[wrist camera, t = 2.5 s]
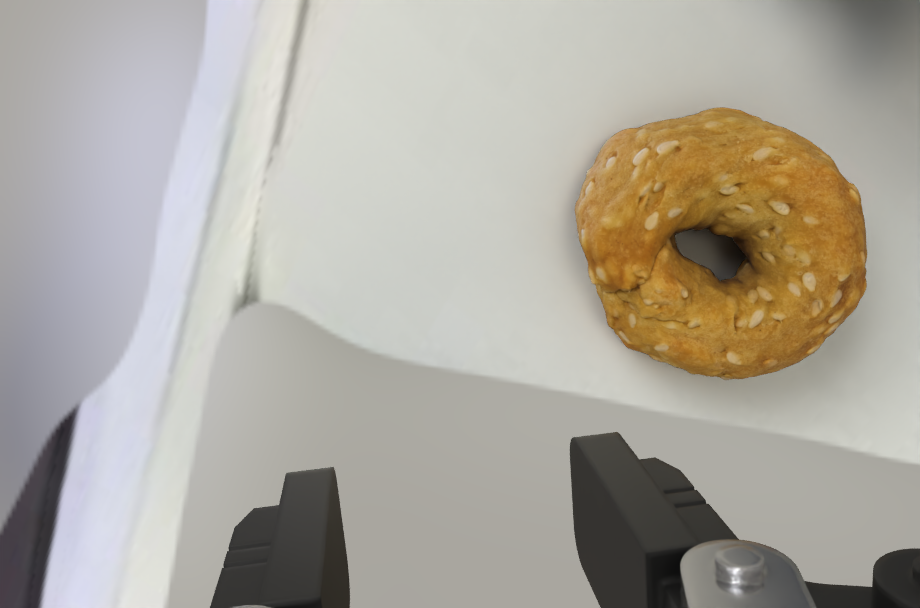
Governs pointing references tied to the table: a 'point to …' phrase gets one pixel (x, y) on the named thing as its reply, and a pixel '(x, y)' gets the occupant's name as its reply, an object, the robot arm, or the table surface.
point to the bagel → (731, 214)
